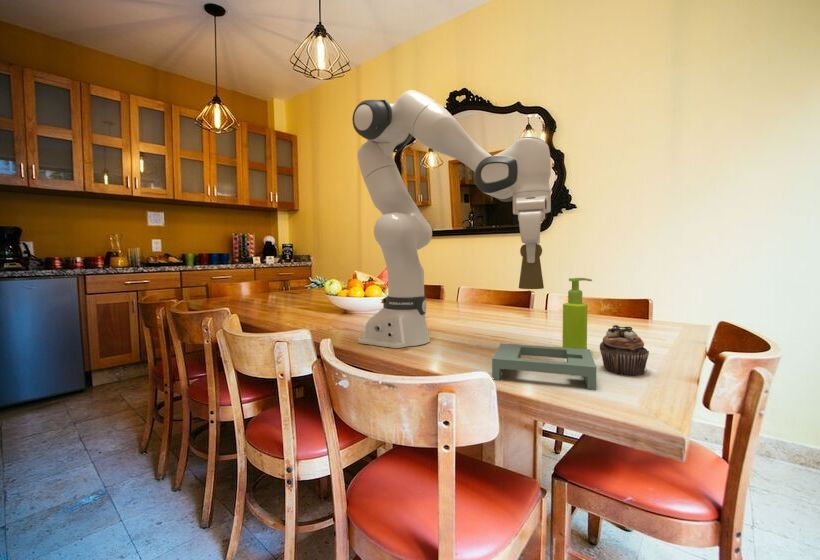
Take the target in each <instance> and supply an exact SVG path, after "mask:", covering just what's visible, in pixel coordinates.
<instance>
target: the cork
mask: <svg viewBox="0 0 820 560" xmlns="http://www.w3.org/2000/svg"><path fill="white" fill-rule="evenodd" d="M519 253H520V256H521V257H522V258H521V259H522V260H521V267H520V275H519V284H518V289H520V290H542V289H545V286H544V279H543V271H542V264H541V255H543V248H542V246H541V245H540V243H539V244H536V249H535V262H534V263H528V262H527V251H526V244H525V243H524V244H522V245H521V247H520V250H519Z"/></svg>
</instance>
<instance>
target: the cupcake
mask: <svg viewBox="0 0 820 560" xmlns="http://www.w3.org/2000/svg"><path fill="white" fill-rule="evenodd" d="M605 332H606V333H605V335H604V337H603V338H602V341H601V342H600V344H599V352H600V355H601V358H602V364H603V368H604V370H605V371H606V372H608V373H611V374H614V375H619V376H627V377H631V376H632V377H637V376H638V377H639V376H642V375H643V374H644V373H645V371H646V366H647V361H648V358H649V355H650V351H649V350H648V349H647V348H645V342H644V341H643V339H642V338H641V337H640V336H638V333H636V332H635V331H634V330H633V327H631V326H619V325H617V324H614V325H612V327H611V328H608V329H607V330H606V331H605Z"/></svg>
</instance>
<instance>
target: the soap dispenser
mask: <svg viewBox="0 0 820 560" xmlns="http://www.w3.org/2000/svg"><path fill="white" fill-rule="evenodd" d="M568 281H569V282H571V289H569V290H568V294H567V295H568V296H567V302H564V303H562V348H577V349H588V304H586V303H584V302H583V290H581V289H580V281H582V282H583V281H586V282H592V281H593V279H590V278H586V277H572V278H570V277H569V278H568Z"/></svg>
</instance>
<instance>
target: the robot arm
mask: <svg viewBox="0 0 820 560" xmlns="http://www.w3.org/2000/svg"><path fill="white" fill-rule="evenodd" d="M351 120H352V121H351V122H352V125H353V128H354V130H355V132H356V133H357V134H358V135H359V136H361V137H362V138H364V139H366V141H365V142H364V143H362V145H360V147H359V148H358V150H357V161H358V165H359V166H358V167H359V169H360V173H361V175H362V179H363V182H364V183H365V186H366V188H367V191H368V193H369V196H370V199H371V200H372V204H373V205H374V207H375V208H376V209H377V210H378V211H379V212H380V213H381V214H382V215H381V216H380V217H379V218H377V220H376V221H375V224H374V227H373V237H374V239H375V240H376V242H377V244H378V245H379V246H380V249H381V251H382V254H383V259H384V261H385V265H386V273H387V291H388V295H386V297H384V298H381V299H380V301H381V302H380V304H382V308H381V309H380V310H379V311H378V312H376V313H375V314H374V315H373V316H372V317H370V318H369V319H368V321H367V322H366V323H365V329H364V334H362V335H360V336H359V337H358V338H357V343H358V344H362V345H363V344H364V345H365V344H366V345H371V346H378V347H386V348H392V349H400V348H405V347H406V348H407V347H415V346H416V347H417V346H421V345H422V346H423V345H425V344H428V343H430V342H431V338H430V334H429V331H428V325H427V317H426V313H427V297H426V295H425V271H424V267H423V266H422V263H421V262H420V259H419V255H418V254H419V253H418V250H421V249H422V248H424V247H426V246H428V244H429V243H430V242H431V240H432V238H433V230H432V226H431V225H430V223H429V222H428V221H427V220H426V219H425V217H424V215H423V214H422V212H421V211H420V208H419V207H418V206H417V203H415V201H414V200H413V198H412V197H411V194H410V193H409V191H408V189H407V187H406V185H405V182H404V180H403V178H402V175H401V173H400V171H399V168H398V166H397V163H396V162H395V159H394V157H393V156H394V155H393V153H399V152H400V151H402V149H403V148H404V147H405V146H407V145H408V144H409V143H410V142H411V140H412V139H413V138H414V139H416V140H417V141H418V142H419V143H420V144H422V145H424V146H426V148H428V149H430V150H433V151H434V152H437V153H440V154H442V155H446V156H448V157H450V158H453V159H455V160H457V161H459V162H460V163H462V164H464V165H465V166H466V167H468V168H469V169H470V170H471V171H473V172H474V174H473V175H474V176H473V177H474V179H473V180H474V184H475V186H476V188H477V189H478V190H479V191H480V192H482V193H484V194H486V195H489V196H491V197H493V198H495V199H497V200H499V201H500V202H503V203H504V202H505V203H508V202H512V214H513V215H517V221H518V225H519V235H520V240H521V243H522V244H524V245H525V244H526V251H527V262H528V263H534V262H535V249H536V244H539V245H540V243H541V225H542V221H544V220H545V219H546V214H548V213H551V210H552V206H551V205H552V202H551V197H552V196H551V195H552V193H551V192H552V190H551V187H550V178H551V173H552V167H551V166H552V165H551V164H552V163H551V152H550V147H549V145H548V144H547V142H546V141H545V140H543V139H542V138H538V137H533V136H526V137H525V136H524V137H519V138H518V139H516V140H515V141H514V142H513V143H512V144H511V145H509V146H508V147H507V148H506V149H504V150H502V151H500V152H498V153H496V154H493V155H492V154H491V153H489V152H488V151H486V150H485V149H484V148H483V147H481V146H480V145H479V144H478V143H477V142H476V141H474V139H473V138H472V137H471V136H470V135H469V134H468V133H467V131H466V130H465V129H464V128H463V127H462V126H461V124H460V123H459V122H458V121H457V119H455V116H453V115H452V113H451V112H449V111H448V110H447V109H446V108H445V107H444V106H443V105H442V104H441V103H439V102H437V101H436V100H435V99H434V98H431V97H430V96H428V95H426V94H425V93H423V92H420V91H419V90H415V89H409V90H406V91H404V92H403V93H401V94H400V95H399V96H398V98H397V100H396V101H395V102H394V103H389V101H388V100H386V99H366V100H363V101H361V102H359V103H358V104H357V106H355V108H354V110H353V113H352V119H351Z"/></svg>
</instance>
